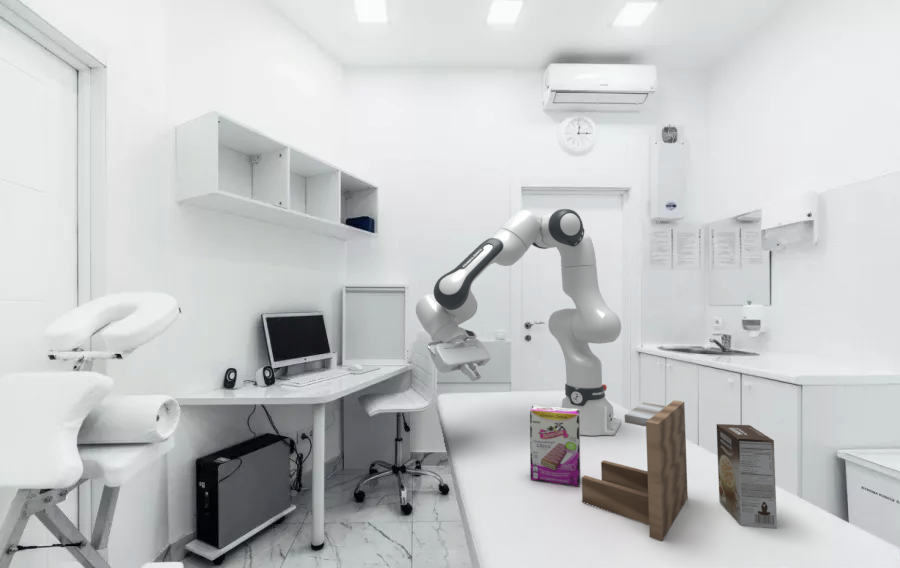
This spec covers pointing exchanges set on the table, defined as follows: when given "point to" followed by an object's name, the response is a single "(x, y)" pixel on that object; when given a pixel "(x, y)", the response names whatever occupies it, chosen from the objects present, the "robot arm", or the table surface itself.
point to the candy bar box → (555, 445)
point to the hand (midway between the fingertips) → (477, 379)
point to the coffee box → (747, 475)
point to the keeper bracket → (647, 472)
